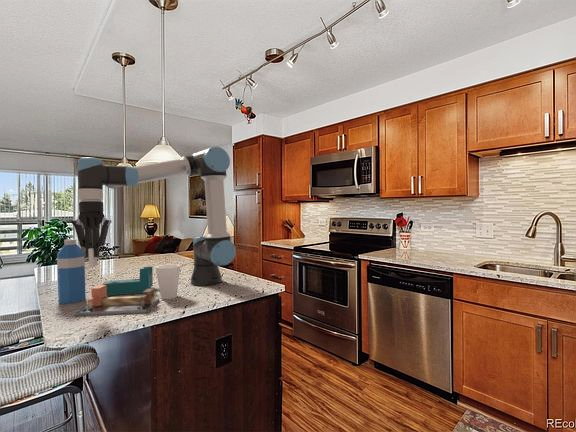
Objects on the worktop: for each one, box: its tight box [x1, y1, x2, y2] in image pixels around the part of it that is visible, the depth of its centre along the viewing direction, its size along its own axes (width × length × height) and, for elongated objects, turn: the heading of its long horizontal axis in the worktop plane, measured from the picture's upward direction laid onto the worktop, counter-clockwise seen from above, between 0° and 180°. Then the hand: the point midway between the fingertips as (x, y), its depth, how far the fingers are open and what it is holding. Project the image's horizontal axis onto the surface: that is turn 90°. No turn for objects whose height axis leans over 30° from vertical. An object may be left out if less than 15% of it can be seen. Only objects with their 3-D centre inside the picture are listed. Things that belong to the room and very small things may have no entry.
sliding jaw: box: [87, 284, 108, 309], centre depth 115 cm, size 3×9×6 cm, turn 5°
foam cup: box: [155, 263, 181, 300], centre depth 130 cm, size 10×9×13 cm
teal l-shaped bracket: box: [102, 266, 154, 297], centre depth 141 cm, size 18×11×10 cm, turn 105°
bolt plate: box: [74, 298, 160, 317], centre depth 116 cm, size 24×14×1 cm, turn 95°
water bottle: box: [56, 238, 87, 305], centre depth 128 cm, size 9×9×25 cm
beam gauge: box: [87, 287, 155, 307], centre depth 115 cm, size 23×9×5 cm, turn 95°
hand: (93, 265), depth 113 cm, fingers closed
